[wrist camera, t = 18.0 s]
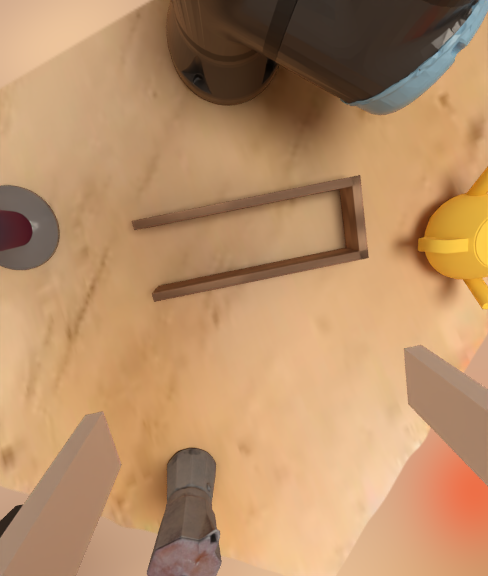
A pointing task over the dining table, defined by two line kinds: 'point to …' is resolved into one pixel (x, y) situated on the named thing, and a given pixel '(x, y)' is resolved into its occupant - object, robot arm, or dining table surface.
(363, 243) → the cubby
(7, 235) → the cup
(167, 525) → the moka pot
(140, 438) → the dining table surface
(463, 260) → the teapot
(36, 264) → the coaster
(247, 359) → the dining table surface
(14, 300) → the dining table surface
